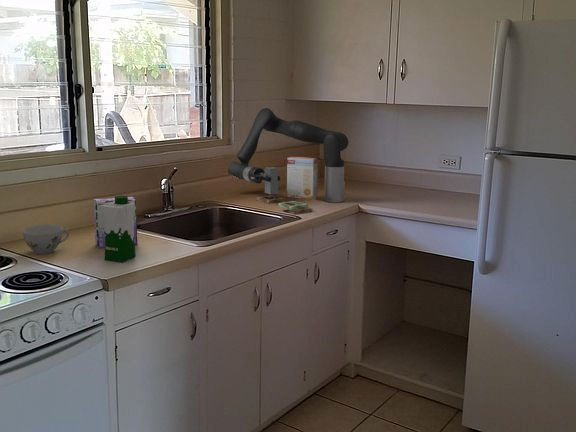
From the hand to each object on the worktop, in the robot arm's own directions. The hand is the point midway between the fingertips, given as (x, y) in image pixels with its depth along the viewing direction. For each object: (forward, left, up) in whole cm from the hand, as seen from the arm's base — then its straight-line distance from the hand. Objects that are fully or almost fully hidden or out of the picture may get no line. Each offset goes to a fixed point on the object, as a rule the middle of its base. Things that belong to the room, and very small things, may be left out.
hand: (274, 179), depth 285 cm
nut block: (0, -3, -7) cm, 8 cm away
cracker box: (-19, -3, -13) cm, 23 cm away
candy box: (+88, +25, -13) cm, 92 cm away
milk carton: (+94, +42, -13) cm, 104 cm away
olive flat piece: (0, +6, -12) cm, 14 cm away
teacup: (+110, +20, -13) cm, 113 cm away
